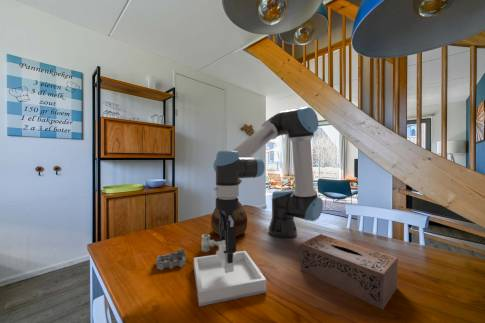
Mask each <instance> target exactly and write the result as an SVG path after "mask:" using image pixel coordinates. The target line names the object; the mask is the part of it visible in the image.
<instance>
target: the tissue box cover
mask: <svg viewBox="0 0 485 323" xmlns="http://www.w3.org/2000/svg"><path fill="white" fill-rule="evenodd" d="M300 271H302V272H305V273H306V274H309V275H311V276H312V277H315V278H316V279H319V280H321V281H323V282H325V283H327V284H329V285H331V286H333V287H335V288H337V289H339V290H341V291H342V292H345V293H348V294H349V295H352V296H354V297H355V298H358V299H360V300H362V301H364V302H366V303H368V304H370V305H371V306H372V305H373V306H374V307H376V308H378V309H381V310H384V309H385V308H386V307H387V306H386V305H387V304H388V303H389V301H390V299H391V298H392V297H393V295H394V293H395V292H396V290H397V289H398V256H394V255H390V254H388V253H384V252H380V251H377V250H374V249H370V248H368V247H365V246H362V245H358V244H354V243H352V242H348V241H345V240H342V239H338V238H335V237H332V236H329V235H325V234H323V233H320V234H318V235H316V236H314V237H311V238H309V239H307V240H305V241H303V242H301V243H300Z"/></svg>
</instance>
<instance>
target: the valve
mask: <svg viewBox="0 0 485 323" xmlns="http://www.w3.org/2000/svg"><path fill="white" fill-rule="evenodd" d="M219 242H220V241H219V240H218V241H216V240H215V239H211V235H210V234H209V233H207V234H206V233H204V234H202V235H201V241H200V245H201V252H202V253H204V252H205V253H208V252H210V251H211V248H214V247H215V246H216V247H219Z"/></svg>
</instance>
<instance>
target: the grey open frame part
mask: <svg viewBox="0 0 485 323" xmlns="http://www.w3.org/2000/svg"><path fill="white" fill-rule="evenodd" d="M186 258H187V256H186V250H185V248H183V249H178V250H176V251H172V252H170V253H166V254H164V255H163V254H162V255H161V254H160V255H157V257H156V259H155V260H156V270H160V271H162V270H163V271H164V269H165V268H169V269H170V270H171V269H173V268H174V267H179V268H182V267H183V266H185V265H186V260H187V259H186Z"/></svg>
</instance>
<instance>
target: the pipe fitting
mask: <svg viewBox="0 0 485 323" xmlns="http://www.w3.org/2000/svg"><path fill="white" fill-rule="evenodd" d="M218 242H219V246H218V250H216V251H215V255H217V257H218V258H219V259H222V268H224V269H225V253H224V251H226V244H225V240H222V241H220V240H219V241H218ZM237 252H238V251H236V253H234V257H236V256H237Z"/></svg>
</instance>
